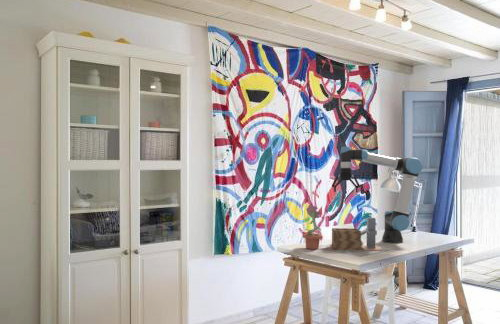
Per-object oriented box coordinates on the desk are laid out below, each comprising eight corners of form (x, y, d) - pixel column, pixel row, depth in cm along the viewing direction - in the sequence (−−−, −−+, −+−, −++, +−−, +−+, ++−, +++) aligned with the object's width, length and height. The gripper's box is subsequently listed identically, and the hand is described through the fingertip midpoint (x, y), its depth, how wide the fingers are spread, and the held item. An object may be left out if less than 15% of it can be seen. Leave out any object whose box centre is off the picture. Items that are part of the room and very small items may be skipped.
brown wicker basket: (358, 246, 308) (359, 228, 308) (362, 250, 295) (362, 231, 295) (330, 246, 309) (330, 228, 310) (332, 249, 297) (332, 230, 297)
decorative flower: (327, 248, 301) (327, 205, 301) (317, 251, 291) (317, 206, 291) (309, 245, 311) (309, 203, 311) (298, 248, 300) (298, 205, 301)
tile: (377, 247, 308) (377, 245, 308) (382, 250, 294) (382, 249, 294) (360, 246, 309) (360, 245, 309) (364, 250, 295) (364, 249, 295)
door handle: (346, 253, 314) (371, 240, 310) (340, 243, 315) (365, 230, 311) (346, 248, 331) (370, 236, 327) (341, 239, 332) (364, 226, 328)
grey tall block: (372, 245, 308) (372, 216, 308) (376, 249, 295) (376, 219, 295) (365, 245, 308) (365, 216, 308) (369, 249, 295) (369, 219, 295)
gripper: (362, 167, 322) (361, 196, 321) (328, 167, 323) (327, 196, 323) (364, 167, 314) (363, 197, 314) (329, 167, 316) (329, 196, 315)
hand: (345, 196), depth 318 cm, fingers open, 13 cm apart
